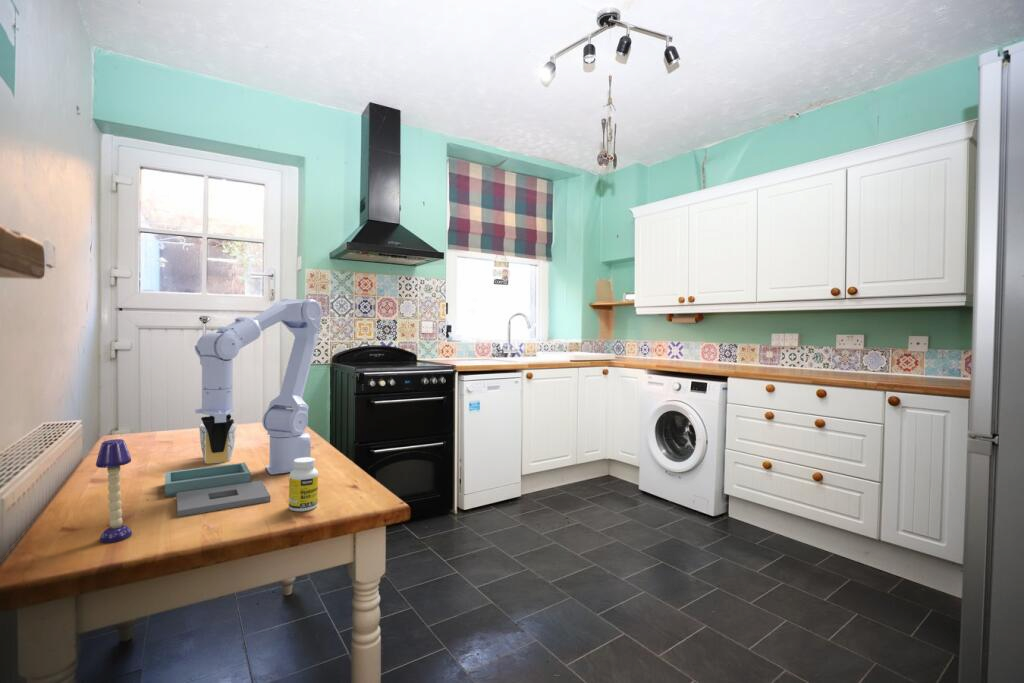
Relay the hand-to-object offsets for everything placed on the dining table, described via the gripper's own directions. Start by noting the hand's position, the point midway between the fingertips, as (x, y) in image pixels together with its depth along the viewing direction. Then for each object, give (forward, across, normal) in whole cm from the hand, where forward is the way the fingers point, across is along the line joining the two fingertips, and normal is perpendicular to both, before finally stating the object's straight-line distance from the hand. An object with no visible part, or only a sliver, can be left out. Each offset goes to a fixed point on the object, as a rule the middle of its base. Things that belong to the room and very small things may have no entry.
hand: (217, 450), depth 106 cm
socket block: (+9, +6, +1) cm, 11 cm away
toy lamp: (+10, +16, -16) cm, 25 cm away
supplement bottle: (+10, +19, +14) cm, 25 cm away
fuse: (+2, 0, 0) cm, 2 cm away
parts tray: (+9, -7, -1) cm, 12 cm away
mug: (+10, -30, +2) cm, 32 cm away
